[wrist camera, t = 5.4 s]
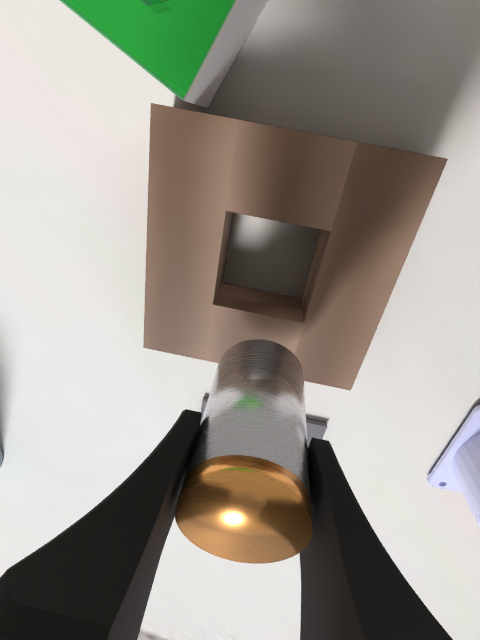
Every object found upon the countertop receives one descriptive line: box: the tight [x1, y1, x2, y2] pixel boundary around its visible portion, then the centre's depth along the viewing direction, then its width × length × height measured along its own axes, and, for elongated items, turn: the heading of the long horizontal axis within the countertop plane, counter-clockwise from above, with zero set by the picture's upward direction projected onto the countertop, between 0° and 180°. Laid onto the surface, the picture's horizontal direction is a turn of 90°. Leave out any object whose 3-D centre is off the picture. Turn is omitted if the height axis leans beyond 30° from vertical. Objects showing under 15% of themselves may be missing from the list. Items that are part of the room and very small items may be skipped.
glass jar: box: [175, 339, 313, 564], centre depth 13 cm, size 4×4×7 cm
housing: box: [144, 103, 448, 390], centre depth 18 cm, size 12×12×3 cm
